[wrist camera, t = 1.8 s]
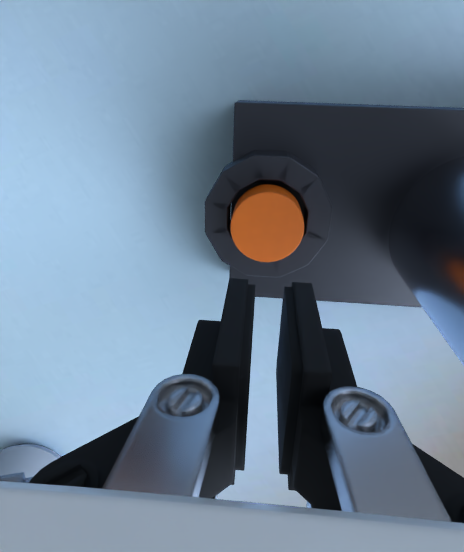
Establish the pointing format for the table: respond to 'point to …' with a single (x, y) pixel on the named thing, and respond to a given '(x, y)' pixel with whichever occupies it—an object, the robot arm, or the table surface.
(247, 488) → the table surface
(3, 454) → the can
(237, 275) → the kettle base
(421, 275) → the kettle
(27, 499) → the robot arm
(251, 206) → the button
